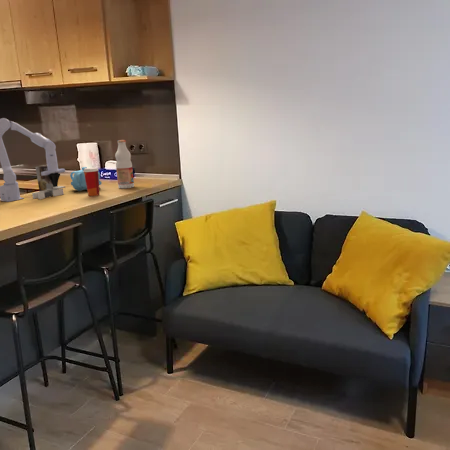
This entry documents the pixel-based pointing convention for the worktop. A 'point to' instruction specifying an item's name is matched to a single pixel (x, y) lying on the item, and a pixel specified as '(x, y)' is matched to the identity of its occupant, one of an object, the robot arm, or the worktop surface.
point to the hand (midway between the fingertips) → (55, 186)
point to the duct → (53, 192)
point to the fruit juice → (124, 166)
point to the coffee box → (42, 177)
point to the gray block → (47, 194)
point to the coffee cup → (92, 181)
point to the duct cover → (50, 187)
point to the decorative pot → (80, 180)
